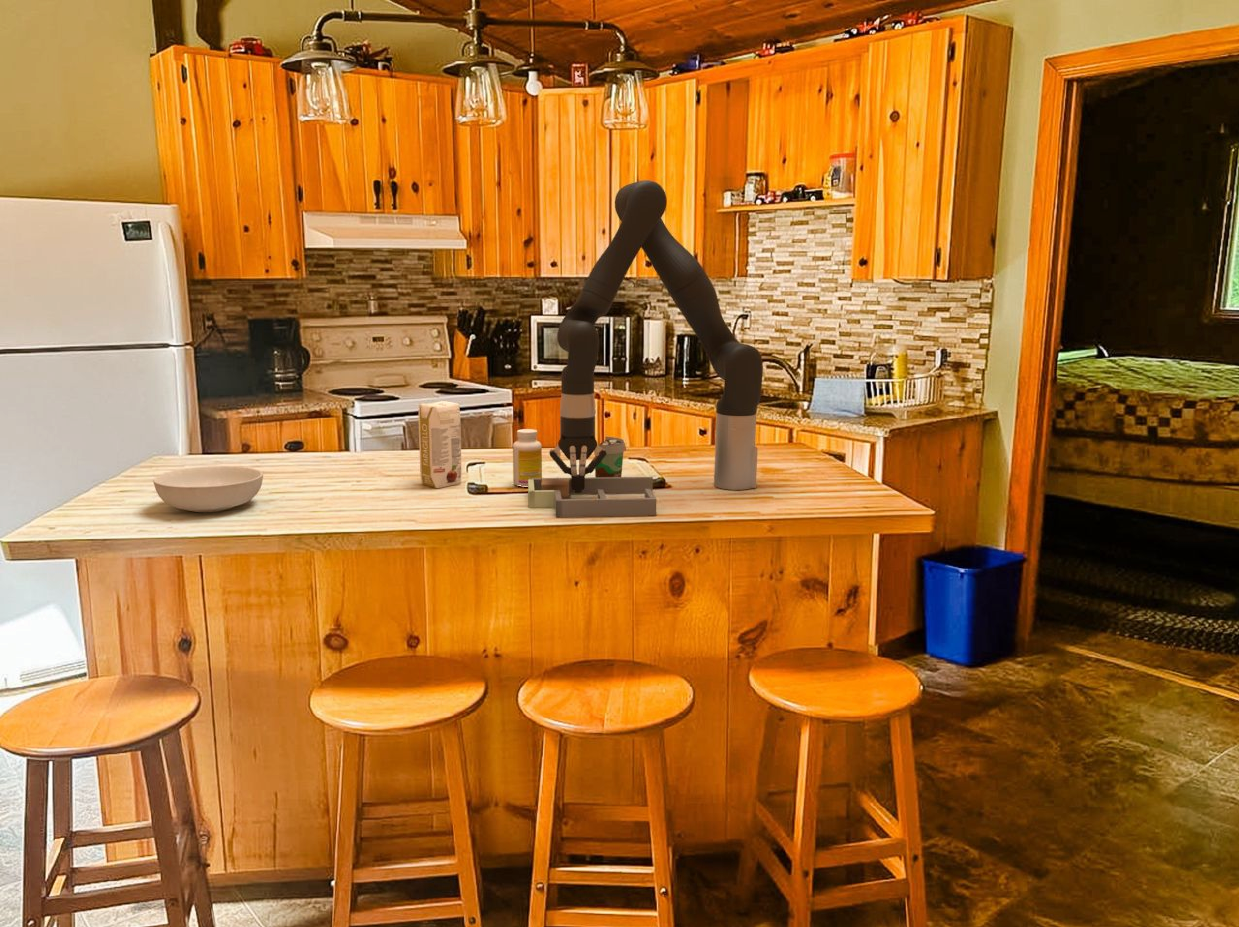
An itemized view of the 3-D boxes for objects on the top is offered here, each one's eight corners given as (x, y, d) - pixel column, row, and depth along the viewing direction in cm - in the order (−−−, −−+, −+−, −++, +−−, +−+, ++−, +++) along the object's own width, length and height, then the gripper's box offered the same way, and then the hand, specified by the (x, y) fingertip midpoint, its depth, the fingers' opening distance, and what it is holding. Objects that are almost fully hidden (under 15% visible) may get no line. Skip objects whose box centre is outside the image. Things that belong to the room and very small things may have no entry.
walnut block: (569, 496, 212) (569, 478, 212) (568, 502, 207) (568, 484, 206) (542, 496, 212) (542, 478, 211) (541, 502, 206) (541, 484, 206)
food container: (620, 489, 218) (620, 446, 216) (594, 488, 219) (594, 445, 217) (630, 478, 230) (630, 437, 228) (605, 476, 231) (605, 436, 229)
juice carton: (466, 483, 222) (464, 403, 218) (435, 489, 215) (433, 407, 211) (446, 478, 227) (444, 399, 223) (416, 484, 220) (413, 403, 216)
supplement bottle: (547, 485, 221) (547, 431, 218) (523, 489, 217) (523, 434, 214) (531, 480, 226) (531, 427, 223) (507, 484, 222) (507, 430, 219)
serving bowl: (261, 516, 192) (259, 483, 190) (147, 523, 186) (144, 489, 184) (268, 493, 211) (266, 462, 210) (165, 498, 205) (162, 467, 204)
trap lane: (651, 491, 216) (652, 476, 215) (665, 515, 196) (666, 499, 195) (528, 493, 213) (528, 478, 212) (529, 517, 193) (529, 501, 192)
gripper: (606, 410, 209) (606, 487, 213) (546, 411, 208) (547, 488, 211) (610, 416, 202) (609, 495, 205) (547, 416, 200) (548, 496, 204)
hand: (577, 491), depth 208 cm, fingers closed
